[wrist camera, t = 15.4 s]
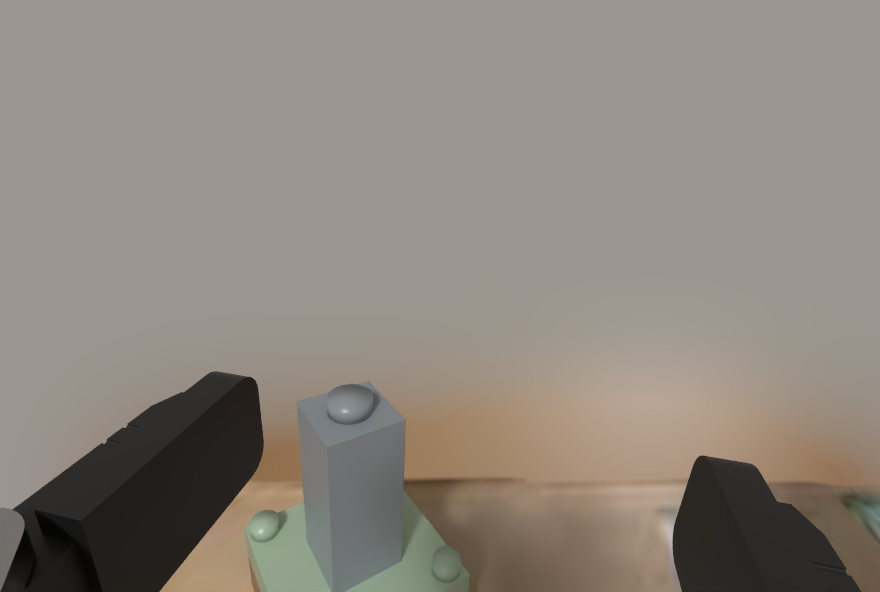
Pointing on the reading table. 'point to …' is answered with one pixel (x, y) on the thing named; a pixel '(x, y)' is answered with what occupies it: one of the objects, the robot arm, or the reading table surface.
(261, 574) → the tower base
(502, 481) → the reading table surface
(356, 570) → the tall brick
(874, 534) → the reading table surface
